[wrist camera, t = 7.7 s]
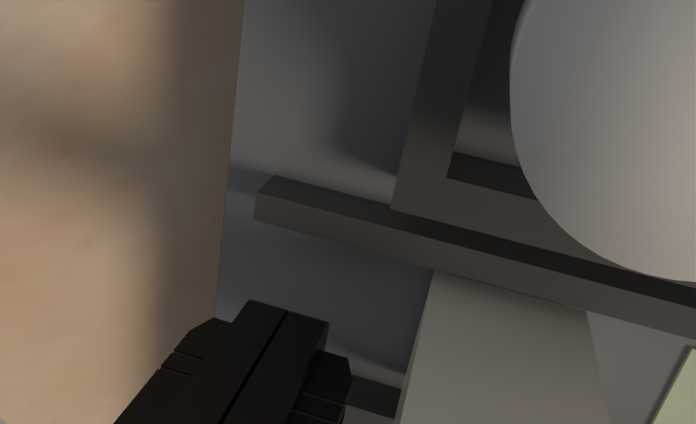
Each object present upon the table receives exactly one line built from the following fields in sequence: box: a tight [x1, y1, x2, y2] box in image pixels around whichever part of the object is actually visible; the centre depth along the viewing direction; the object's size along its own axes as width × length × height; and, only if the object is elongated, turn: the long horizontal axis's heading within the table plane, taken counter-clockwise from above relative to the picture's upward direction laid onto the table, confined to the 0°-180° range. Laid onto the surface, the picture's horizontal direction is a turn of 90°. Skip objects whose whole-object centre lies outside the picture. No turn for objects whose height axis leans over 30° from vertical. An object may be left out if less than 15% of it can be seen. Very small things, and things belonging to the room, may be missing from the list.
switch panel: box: [215, 0, 696, 424], centre depth 13 cm, size 22×14×4 cm, turn 170°
